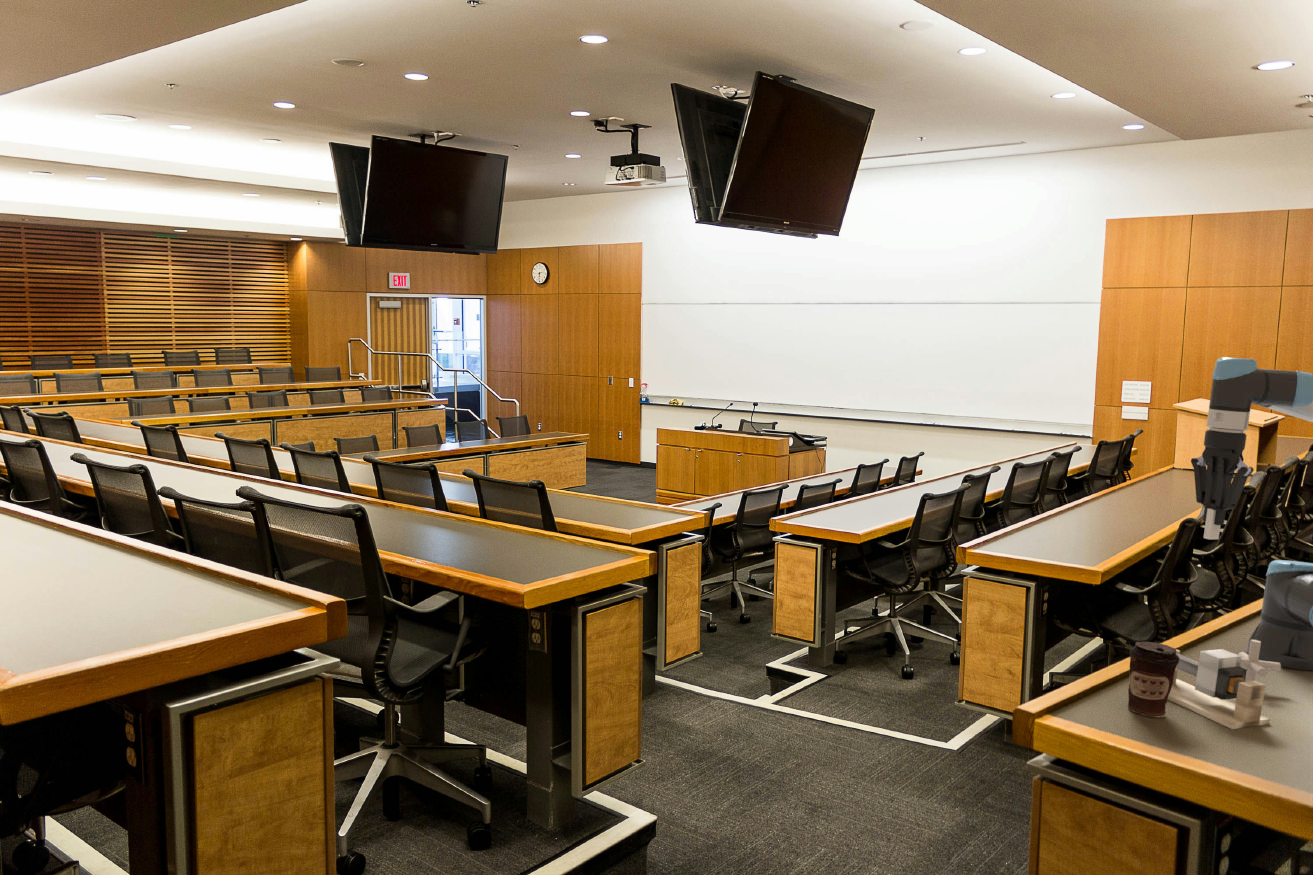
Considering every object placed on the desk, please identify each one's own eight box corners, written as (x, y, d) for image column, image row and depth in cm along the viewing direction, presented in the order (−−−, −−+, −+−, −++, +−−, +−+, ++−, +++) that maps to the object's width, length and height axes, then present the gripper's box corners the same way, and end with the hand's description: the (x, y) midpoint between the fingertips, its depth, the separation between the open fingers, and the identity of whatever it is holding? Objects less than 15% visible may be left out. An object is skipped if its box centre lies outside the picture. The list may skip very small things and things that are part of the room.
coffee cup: (1171, 725, 171) (1180, 657, 169) (1121, 713, 175) (1130, 647, 173) (1171, 709, 179) (1180, 645, 177) (1123, 698, 183) (1132, 635, 181)
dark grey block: (1234, 693, 179) (1239, 666, 178) (1242, 697, 178) (1247, 669, 177) (1214, 696, 177) (1218, 668, 176) (1222, 699, 175) (1226, 671, 175)
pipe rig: (1176, 683, 193) (1181, 646, 192) (1269, 723, 175) (1275, 683, 174) (1141, 687, 190) (1146, 649, 189) (1232, 728, 171) (1238, 687, 170)
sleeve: (1216, 686, 183) (1222, 648, 182) (1235, 694, 179) (1241, 656, 178) (1194, 689, 181) (1200, 650, 180) (1213, 697, 177) (1219, 658, 176)
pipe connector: (1286, 699, 188) (1293, 652, 187) (1232, 692, 190) (1239, 645, 189) (1264, 681, 198) (1271, 636, 197) (1213, 674, 200) (1220, 630, 199)
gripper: (1186, 426, 201) (1171, 532, 204) (1243, 434, 189) (1226, 546, 192) (1210, 426, 204) (1196, 531, 207) (1268, 434, 192) (1251, 545, 195)
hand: (1211, 538), depth 199 cm, fingers closed
